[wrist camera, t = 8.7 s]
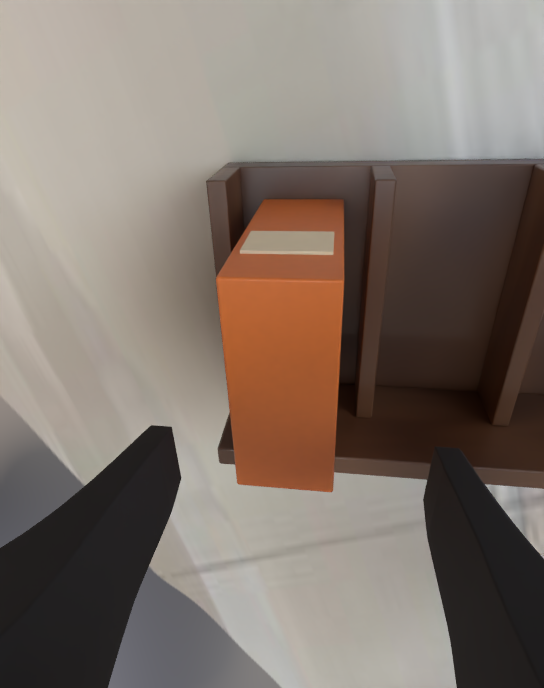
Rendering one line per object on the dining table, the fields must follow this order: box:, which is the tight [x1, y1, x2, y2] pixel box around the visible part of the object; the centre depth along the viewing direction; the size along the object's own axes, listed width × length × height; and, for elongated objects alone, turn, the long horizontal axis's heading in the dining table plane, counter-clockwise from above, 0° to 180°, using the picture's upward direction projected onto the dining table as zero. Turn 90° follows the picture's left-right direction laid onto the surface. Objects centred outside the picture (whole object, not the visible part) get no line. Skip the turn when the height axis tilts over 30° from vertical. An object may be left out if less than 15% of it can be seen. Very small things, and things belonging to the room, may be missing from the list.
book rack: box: [206, 159, 544, 489], centre depth 18 cm, size 18×11×6 cm, turn 92°
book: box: [216, 199, 344, 492], centre depth 16 cm, size 3×8×8 cm, turn 2°
